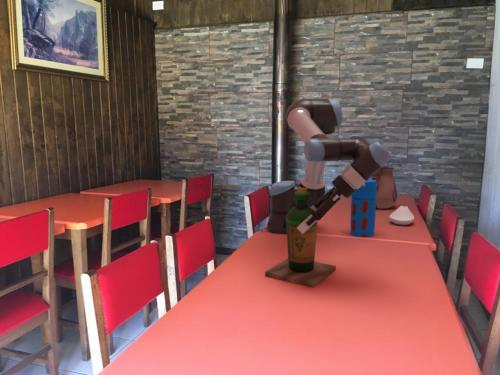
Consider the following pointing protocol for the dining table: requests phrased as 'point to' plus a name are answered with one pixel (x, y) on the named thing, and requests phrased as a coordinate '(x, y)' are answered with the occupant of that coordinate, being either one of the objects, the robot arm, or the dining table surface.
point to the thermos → (363, 209)
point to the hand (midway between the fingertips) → (301, 225)
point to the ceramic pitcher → (385, 188)
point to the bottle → (300, 234)
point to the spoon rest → (402, 216)
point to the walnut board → (301, 273)
